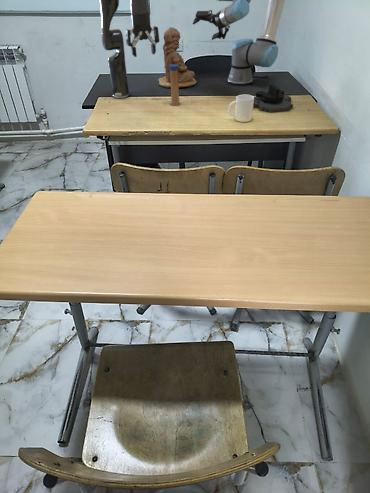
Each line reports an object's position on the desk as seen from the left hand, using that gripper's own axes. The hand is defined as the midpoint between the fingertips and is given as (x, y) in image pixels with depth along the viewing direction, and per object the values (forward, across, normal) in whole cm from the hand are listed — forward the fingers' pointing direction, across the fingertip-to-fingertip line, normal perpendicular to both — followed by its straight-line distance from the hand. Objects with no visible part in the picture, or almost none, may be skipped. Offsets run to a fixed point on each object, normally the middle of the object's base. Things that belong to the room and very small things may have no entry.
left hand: (144, 55), depth 157 cm
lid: (+10, -21, -16) cm, 29 cm away
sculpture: (+29, -39, -52) cm, 71 cm away
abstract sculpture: (+29, -64, +11) cm, 71 cm away
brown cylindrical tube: (+29, -21, -16) cm, 40 cm away
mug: (+29, -39, +20) cm, 53 cm away
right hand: (0, -49, -37) cm, 61 cm away
